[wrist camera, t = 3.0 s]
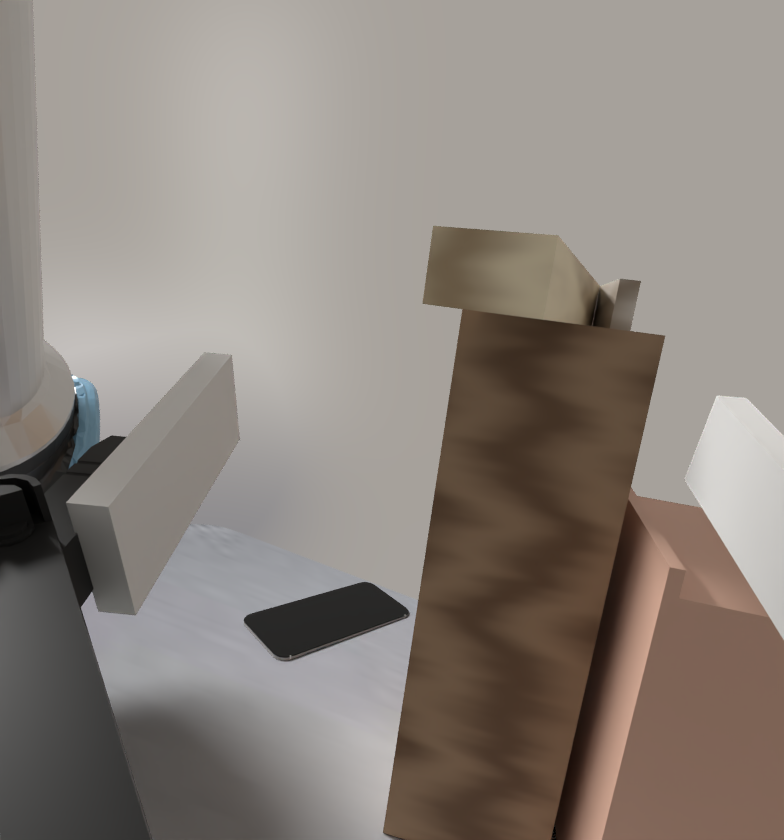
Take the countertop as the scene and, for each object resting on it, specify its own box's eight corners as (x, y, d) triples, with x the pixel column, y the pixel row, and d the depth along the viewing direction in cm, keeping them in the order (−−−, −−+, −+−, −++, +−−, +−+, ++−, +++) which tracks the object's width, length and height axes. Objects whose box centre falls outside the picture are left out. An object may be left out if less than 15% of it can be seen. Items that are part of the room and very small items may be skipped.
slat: (422, 303, 19) (433, 225, 18) (529, 317, 38) (536, 279, 37) (543, 319, 17) (558, 235, 17) (591, 326, 36) (599, 286, 36)
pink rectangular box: (566, 980, 27) (669, 567, 22) (550, 757, 40) (612, 472, 36) (727, 1035, 25) (870, 607, 21) (654, 786, 39) (732, 493, 34)
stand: (383, 832, 33) (470, 254, 26) (422, 682, 46) (487, 275, 40) (541, 882, 31) (678, 277, 24) (534, 711, 45) (621, 291, 38)
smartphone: (413, 612, 56) (279, 660, 46) (412, 618, 56) (279, 667, 46) (367, 579, 61) (239, 616, 52) (367, 585, 62) (238, 622, 52)
